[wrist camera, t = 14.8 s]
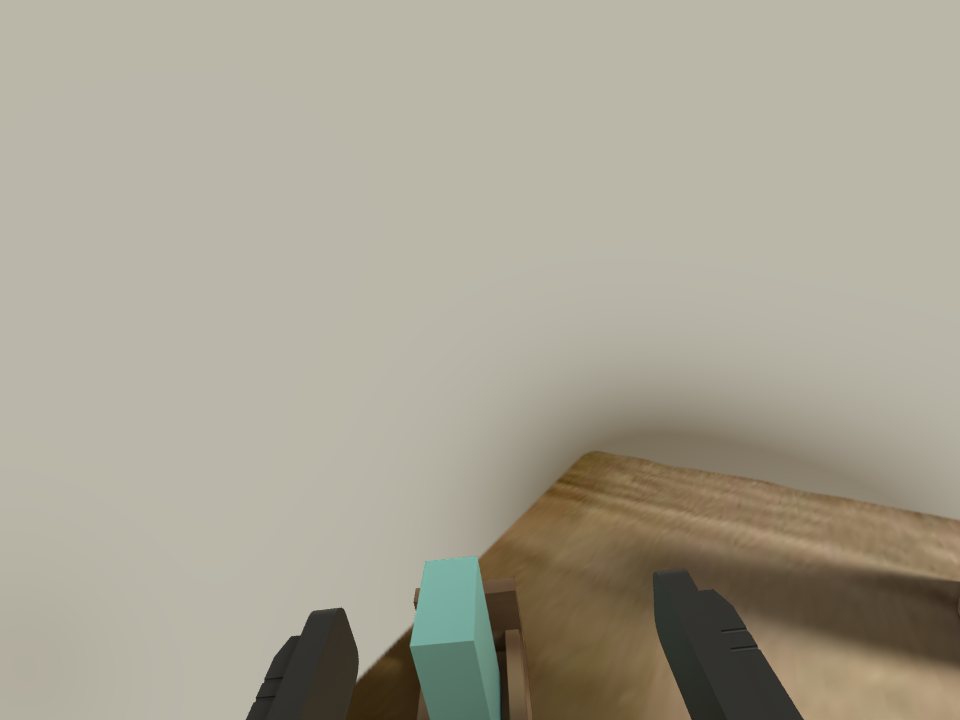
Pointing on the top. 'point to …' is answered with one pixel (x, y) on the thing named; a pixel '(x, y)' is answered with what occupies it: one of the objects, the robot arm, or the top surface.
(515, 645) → the brown wooden drawer
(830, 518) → the top surface
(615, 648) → the top surface
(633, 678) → the top surface
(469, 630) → the teal rectangular block
